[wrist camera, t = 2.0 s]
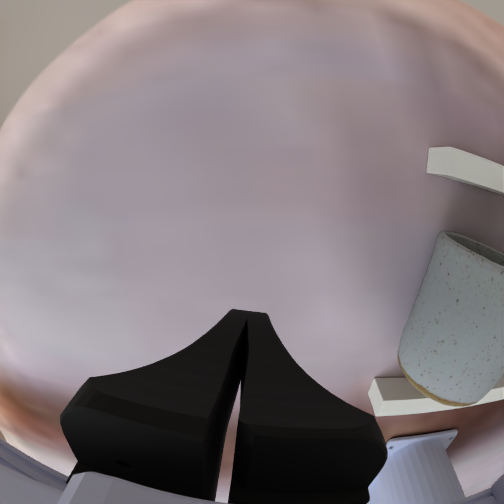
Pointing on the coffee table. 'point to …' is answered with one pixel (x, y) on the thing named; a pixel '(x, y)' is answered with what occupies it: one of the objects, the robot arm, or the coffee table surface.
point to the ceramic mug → (457, 323)
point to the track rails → (400, 389)
